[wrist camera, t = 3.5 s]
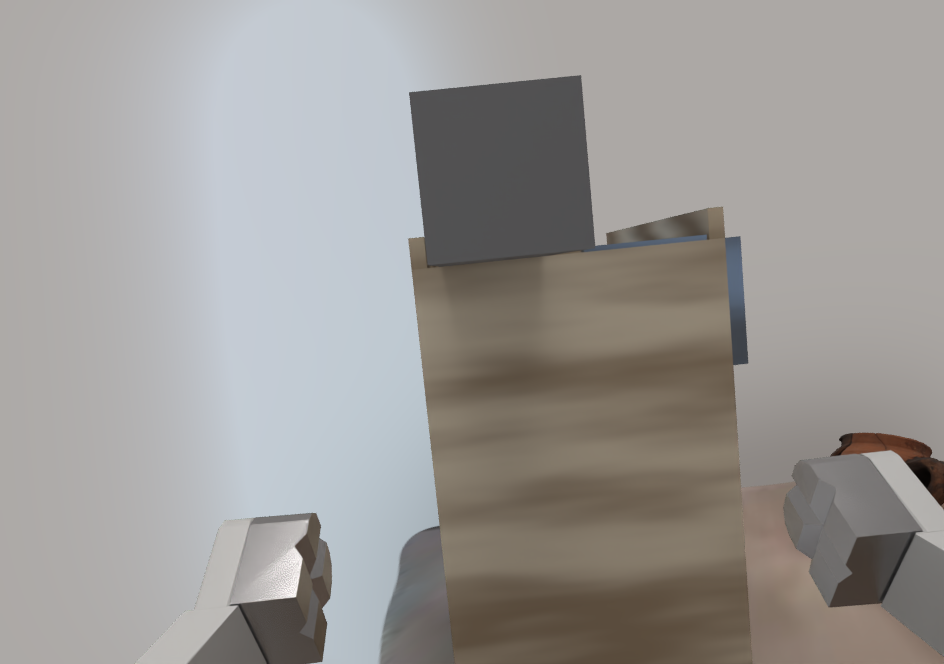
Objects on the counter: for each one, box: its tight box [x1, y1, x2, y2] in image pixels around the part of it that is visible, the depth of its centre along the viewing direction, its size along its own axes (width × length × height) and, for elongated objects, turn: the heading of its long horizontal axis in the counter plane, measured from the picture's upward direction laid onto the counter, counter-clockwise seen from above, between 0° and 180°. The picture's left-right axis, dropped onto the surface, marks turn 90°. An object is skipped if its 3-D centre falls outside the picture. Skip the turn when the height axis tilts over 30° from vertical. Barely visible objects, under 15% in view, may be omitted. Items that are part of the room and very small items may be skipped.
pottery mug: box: [830, 433, 944, 506], centre depth 61 cm, size 12×10×8 cm
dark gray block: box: [409, 75, 595, 267], centre depth 29 cm, size 26×4×4 cm, turn 1°
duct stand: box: [408, 207, 752, 664], centre depth 36 cm, size 18×13×27 cm
